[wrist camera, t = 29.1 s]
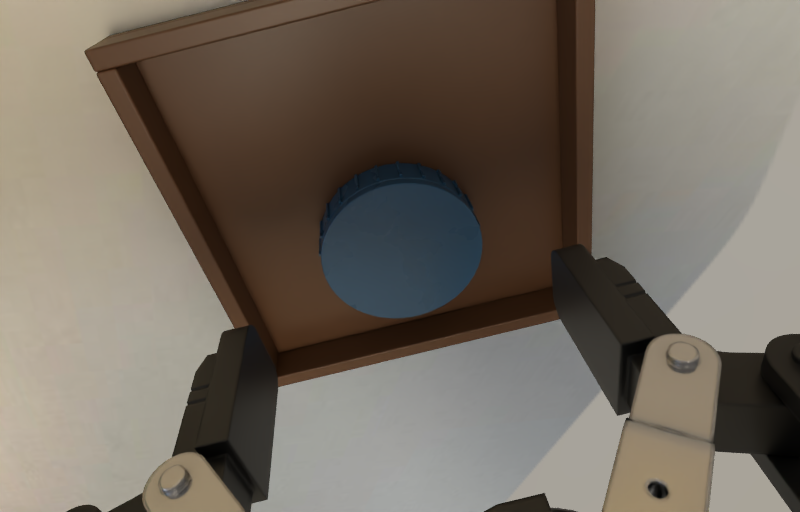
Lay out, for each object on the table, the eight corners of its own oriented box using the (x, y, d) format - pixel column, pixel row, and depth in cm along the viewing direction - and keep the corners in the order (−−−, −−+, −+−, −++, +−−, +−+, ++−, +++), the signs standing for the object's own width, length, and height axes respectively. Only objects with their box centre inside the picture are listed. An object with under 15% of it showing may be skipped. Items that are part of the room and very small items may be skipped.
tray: (572, 284, 23) (591, 312, 22) (271, 356, 24) (267, 390, 22) (567, -81, 15) (597, -80, 14) (108, 35, 15) (82, 50, 14)
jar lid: (302, 176, 18) (300, 199, 17) (468, 147, 18) (480, 166, 17) (337, 305, 22) (338, 332, 20) (476, 279, 22) (487, 304, 20)
